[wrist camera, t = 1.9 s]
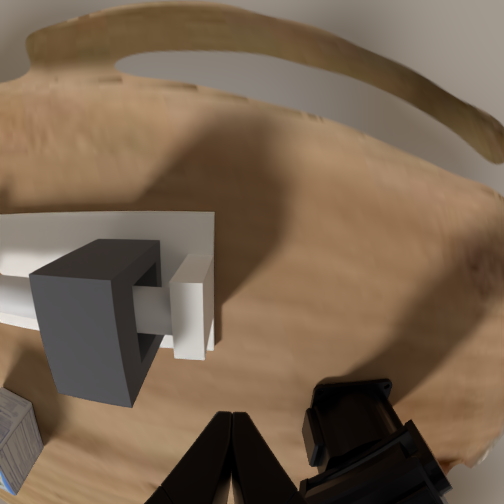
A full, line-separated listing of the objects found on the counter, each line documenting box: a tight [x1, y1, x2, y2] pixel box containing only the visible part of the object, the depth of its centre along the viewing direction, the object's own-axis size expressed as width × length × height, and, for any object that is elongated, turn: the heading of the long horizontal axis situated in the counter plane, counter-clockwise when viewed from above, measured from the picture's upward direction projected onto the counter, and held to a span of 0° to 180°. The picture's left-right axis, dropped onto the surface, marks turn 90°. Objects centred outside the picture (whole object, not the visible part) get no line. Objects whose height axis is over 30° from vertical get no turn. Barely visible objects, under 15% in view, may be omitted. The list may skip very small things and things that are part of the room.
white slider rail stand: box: [0, 211, 215, 360], centre depth 16 cm, size 21×9×6 cm, turn 88°
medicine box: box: [0, 387, 44, 495], centre depth 19 cm, size 8×4×9 cm, turn 165°
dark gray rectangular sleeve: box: [29, 239, 165, 408], centre depth 15 cm, size 4×6×7 cm, turn 178°
